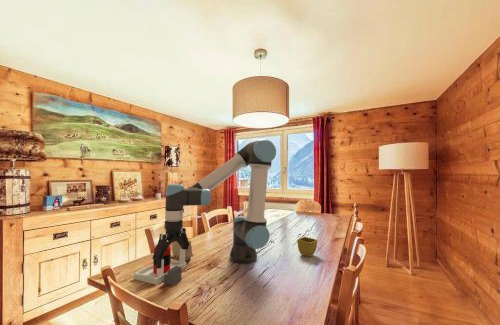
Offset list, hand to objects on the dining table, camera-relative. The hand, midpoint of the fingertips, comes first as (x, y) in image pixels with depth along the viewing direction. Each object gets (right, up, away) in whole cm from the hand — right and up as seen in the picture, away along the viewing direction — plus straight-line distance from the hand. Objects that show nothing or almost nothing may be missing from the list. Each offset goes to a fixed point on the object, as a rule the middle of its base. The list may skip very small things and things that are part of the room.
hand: (171, 269), depth 98 cm
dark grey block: (0, -6, 0) cm, 6 cm away
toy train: (-4, -7, +28) cm, 29 cm away
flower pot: (+67, -8, +33) cm, 75 cm away
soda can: (-8, -5, +9) cm, 13 cm away
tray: (-8, -6, +9) cm, 13 cm away
